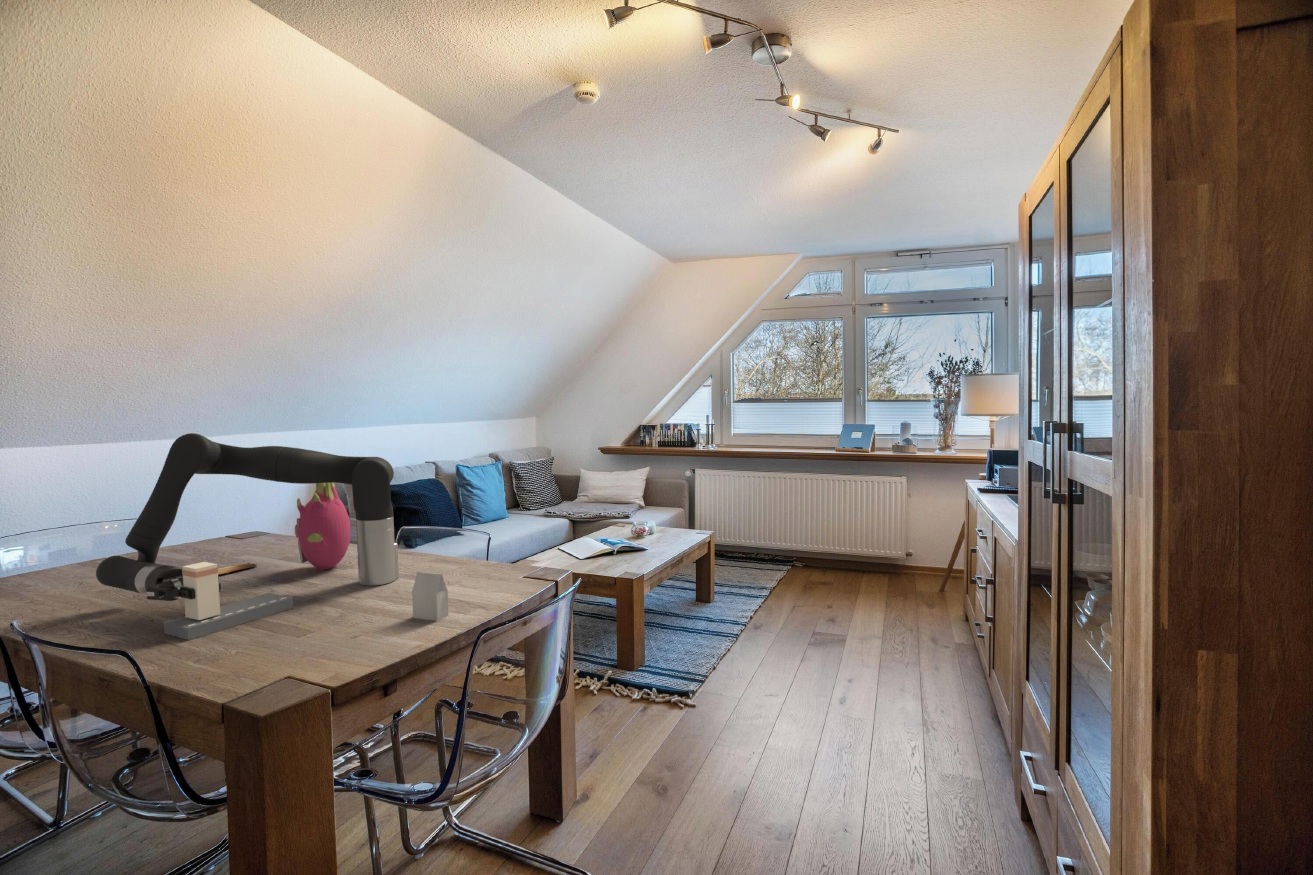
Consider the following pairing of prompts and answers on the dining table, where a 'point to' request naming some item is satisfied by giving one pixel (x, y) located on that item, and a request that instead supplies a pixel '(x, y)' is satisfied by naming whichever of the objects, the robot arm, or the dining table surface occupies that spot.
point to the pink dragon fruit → (323, 528)
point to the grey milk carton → (429, 597)
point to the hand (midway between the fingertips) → (206, 590)
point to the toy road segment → (229, 616)
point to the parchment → (235, 568)
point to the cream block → (202, 590)
